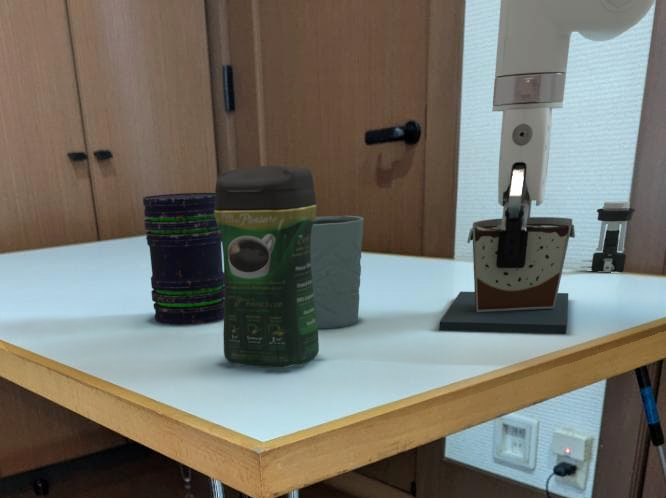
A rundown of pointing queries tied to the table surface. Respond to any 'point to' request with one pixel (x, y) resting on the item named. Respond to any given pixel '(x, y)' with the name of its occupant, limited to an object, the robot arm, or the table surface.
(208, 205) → the storage jar
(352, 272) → the grey embossed cup
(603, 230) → the black and grey device
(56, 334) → the table surface
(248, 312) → the coffee jar
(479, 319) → the mat
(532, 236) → the food container
